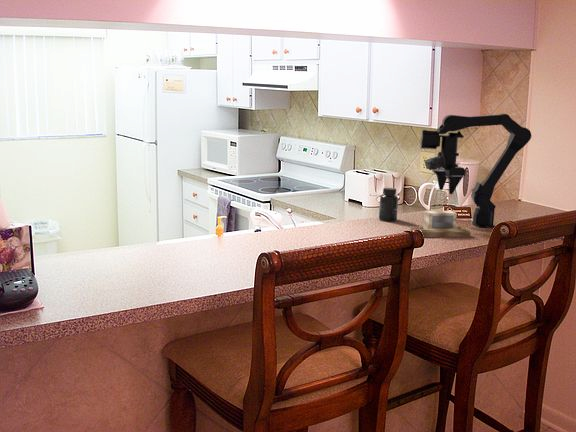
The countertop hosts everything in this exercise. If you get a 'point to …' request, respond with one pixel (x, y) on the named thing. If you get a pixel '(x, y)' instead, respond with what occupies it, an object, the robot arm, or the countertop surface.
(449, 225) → the ash frame block
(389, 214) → the supplement bottle
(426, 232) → the notched ledge
